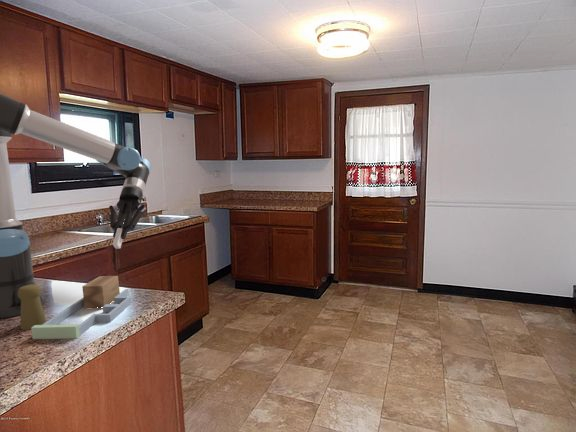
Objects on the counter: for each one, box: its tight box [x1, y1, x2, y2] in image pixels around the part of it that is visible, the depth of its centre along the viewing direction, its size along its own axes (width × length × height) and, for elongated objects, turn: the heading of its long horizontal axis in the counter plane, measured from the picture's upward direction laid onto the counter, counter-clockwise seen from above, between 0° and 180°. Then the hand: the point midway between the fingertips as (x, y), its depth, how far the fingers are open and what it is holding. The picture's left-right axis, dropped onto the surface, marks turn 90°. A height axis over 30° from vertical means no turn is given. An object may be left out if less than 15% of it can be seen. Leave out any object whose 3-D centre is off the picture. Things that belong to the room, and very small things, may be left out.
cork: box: [18, 284, 48, 331], centre depth 103 cm, size 6×6×11 cm
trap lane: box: [30, 288, 133, 340], centre depth 110 cm, size 15×30×3 cm, turn 179°
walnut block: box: [82, 275, 121, 309], centre depth 119 cm, size 6×10×7 cm, turn 178°
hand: (116, 246), depth 129 cm, fingers closed
